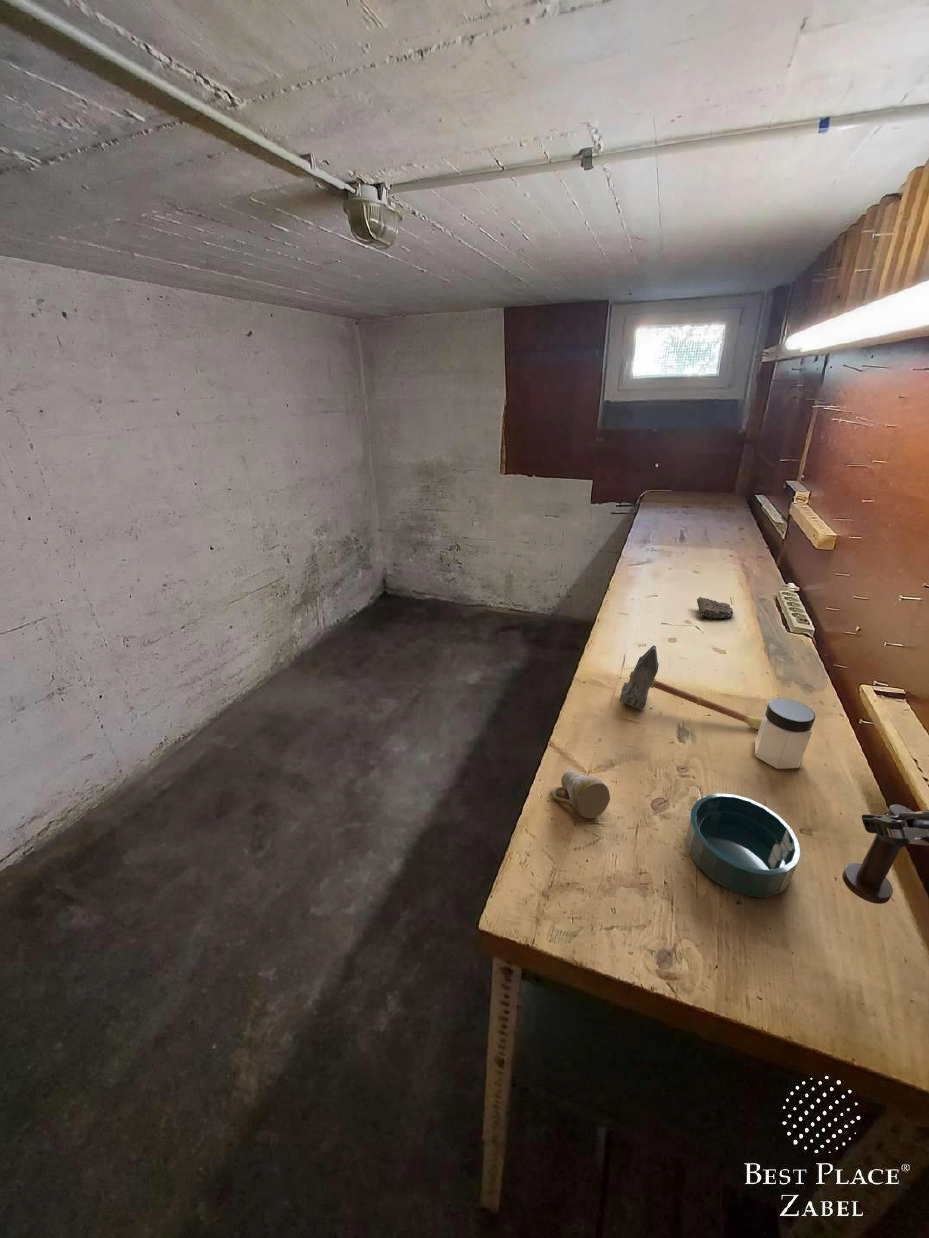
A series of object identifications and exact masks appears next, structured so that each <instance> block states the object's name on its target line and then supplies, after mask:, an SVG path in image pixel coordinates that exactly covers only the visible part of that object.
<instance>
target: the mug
mask: <svg viewBox="0 0 929 1238" xmlns="http://www.w3.org/2000/svg"><path fill="white" fill-rule="evenodd" d="M560 782H561V786H558V787H556V788H554V790H553V791H552V797H553V800H555V801H556V802H559V803H562V804H566V805H567V806H570V807H571V808H573V809H574V810H575V811H576V812H577V813H578V814H579V815H581V816H582V817H583V818H588V819H594V818H598V817H599V816H601V815H602V814H603V813H604V812H605V810H606V809H607V808H608V805H609V804H610V801H611V793H610V790H609V787H608V786H607V785H606V784H605V782H604V781H602V780H601V779H599V778H597V777H595V776H592V775H583V774H580V773H579V772H578V771H577V770H575V769H569V770H566V771H565V772H564V773H563V774H562V776H561V778H560ZM561 791H563V792H567V794H568V797H569V799H566V798H561V797H558V796H557V794H558V793H560V792H561Z"/></svg>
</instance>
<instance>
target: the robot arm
mask: <svg viewBox="0 0 929 1238" xmlns="http://www.w3.org/2000/svg"><path fill="white" fill-rule="evenodd" d="M887 812H888V811H886V812H885V813H884V814H872V813H871V814H870V813H867V814H865V813H864V814H862V815H861V820H862V824H863V826H864V829H865V831H866V832H867V833H869V834H875V835H876V834H879V838H880V839H881V840H884V841H886V842H889V843H891V844H894V845H897V846H900V847H902V848H905V847H906V846H908V847H909V846H910V844H911V845H918V846H929V809H926V810H924V811H921V810H918V811H913V812H904V813H899V814H898V816H894V815H890V814H887ZM915 818H917V819H915Z"/></svg>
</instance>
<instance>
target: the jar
mask: <svg viewBox="0 0 929 1238" xmlns="http://www.w3.org/2000/svg"><path fill="white" fill-rule="evenodd" d="M761 719H762V722H761V725H760V728H759V730H758V732H757V736H756V737H755V742H754V756H755V757H756V758H758V759H759V760H761V761H762V762H764V763H766V764H768V765H770V766H771V767H772V768H775V769H776V770H780V769H781V770H783V769H799V768H800V766H801V763H802V760H803V758H804V756H805V753H806V749H807V747H808V744H809V741H810V739H811V736H812V733H813V730H812V728H813V726H814V722H815V720H816V713H815V711H814V710H813V709H812V708H811V707H809V706H808V705H806V704H805V703H803V702H801V701H798V700H795V699H791V698H786V697H775V698H772V699H770V700H769V701H768V703H767V706H766V708H765V709H764V713H763V716H762V718H761Z"/></svg>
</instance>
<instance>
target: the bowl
mask: <svg viewBox="0 0 929 1238" xmlns="http://www.w3.org/2000/svg"><path fill="white" fill-rule="evenodd" d="M684 841H685V845H686V848H687V851H688V855H689V856H690V857H691V859H692V861H693V862H694V864H696V867H698V868H699V869H700V870H701V871H702V872H703V873H704V874H705V875H706V876H707V877H708V878H709V879H711V880H712V881H714V882H715V883H717V884H718V885H721V886H722V887H724V888H725V889H727V890H729V891H732V892H734V893H738V894H741V895H743V896H747V897H755V898H767V897H772V896H778V895H779V894H781V893H782V892H783V891H785V890H786V889H787V888H788V887H789V885H790V883H791V880H792V878H793V875H794V873H795V871H796V868H797V865H798V863H799V861H800V858H801V855H802V852H801V846H800V841H799V839H798V838H797V836H796V834H795V832H794V830H793V828H792V827H791V826H789V825H788V823H787V822H786V821H785V820H784V819H783V818H782V817H781V816H780V815H779V814H777V813H776V812H774V811H773V810H772V809H770V808H769V807H767V806H766V805H764V804H762V803H759V802H758V801H756V800H753V799H751V798H748V797H745V796H740V795H738V794H733V793H722V792H721V793H720V792H718V793H712V794H707V795H705V796H703V797H701V798H699V799H697V800H696V802H695V803H694V804H693V806H692V808H691V809H690V813H689V816H688V821H687V825H686V829H685V837H684Z"/></svg>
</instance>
